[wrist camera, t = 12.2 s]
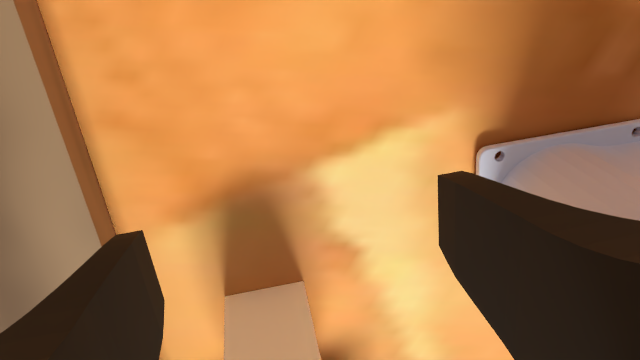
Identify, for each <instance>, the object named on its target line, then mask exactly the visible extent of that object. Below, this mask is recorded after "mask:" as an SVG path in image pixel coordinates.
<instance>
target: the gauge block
mask: <svg viewBox="0 0 640 360" xmlns="http://www.w3.org/2000/svg"><path fill="white" fill-rule="evenodd" d="M224 360H321V356H320V352H319V348H318V343H317V339H316V334H315V330H314V325H313V321H312V316H311V312H310V307H309V303H308V299H307V294H306V290H305V285H304V281H301V282H296V283H291V284H286V285H280V286H275V287H270V288H265V289H260V290H255V291H250V292H245V293H240V294H235V295H229V296H225V309H224Z"/></svg>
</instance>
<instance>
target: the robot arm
mask: <svg viewBox="0 0 640 360" xmlns="http://www.w3.org/2000/svg"><path fill="white" fill-rule="evenodd" d="M634 128H636V130H635V132H634V133H633V134H632V131H633V130H634ZM499 151H501V154H500V156H499V157H498V158H496V159H495V158H494V157H495V154H496V153H497V152H499ZM438 218H439V246H440V248H441V250H442V252H443V254H444V256H445V258H446V260H447V262H448V264H449V266H450V268H451V270H452V272H453V273H454V275H455V277H456V278H457V280H458V281H459V283H460V284H461V285H462V287H463V288H464V290H465V291H466V292H467V294H468V295H469V297H470V298H471V299H472V301H473V302H474V304H475V305H476V306H477V308H478V309H479V310H480V312H481V313H482V314H483V316H484V317H485V319H486V320H487V321H488V323H489V324H490V325H491V327H492V328H493V329H494V331H495V332H496V334H497V335H498V336H499V338H500V339H501V340H502V342H503V343H504V345H505V346H506V348H507V349H508V351H509V352H510V354H511V355H512V357H513V358H514V360H640V119H636V120H631V121H625V122H619V123H614V124H608V125H602V126H597V127H591V128H585V129H579V130H574V131H568V132H562V133H557V134H551V135H545V136H540V137H534V138H528V139H523V140H517V141H511V142H505V143H500V144H494V145H488V146H485V147H482V148H481V149H480V150H479V151H478V153H477V156H476V175H475V174H472V173H468V172H464V171H459V172H453V173H448V174H442V175H438ZM163 325H164V297H163V294H162V291H161V288H160V285H159V281H158V278H157V275H156V272H155V269H154V266H153V262H152V259H151V256H150V253H149V250H148V247H147V243H146V240H145V237H144V234H143V231H142V230H141V231H135V232H130V233H125V234H119V235H115V236H114V237H113V238H111V239H110V240H109V241H108V242H106V243H105V244H104V245H103V246H102V247H101V248H100V249H99V250H98V251H97V252H95V253H94V254H93V255H92V256H91V257H90V258H89V259H88V260H87V261H86V262H85V263H84V264H83V265H82V266H80V267H79V268H78V269H77V270H76V271H75V272H74V273H73V274H72V275H71V276H70V277H69V278H68V279H66V280H65V281H64V282H63V283H62V284H61V285H60V286H59V287H57V288H56V289H55V290H54V291H53V292H52V293H50V294H49V295H48V296H47V297H46V298H45V299H43V300H42V301H41V302H40V303H39V304H37V305H36V306H35V307H34V308H33V309H32V310H30V311H29V312H28V313H27V314H25V315H24V316H23V317H22V318H20V319H19V320H18V321H16V322H15V323H14V324H12V325H11V326H10V327H8V328H7V329H6V330H4V331H3V332H1V333H0V360H159V355H160V350H161V344H162V339H163Z"/></svg>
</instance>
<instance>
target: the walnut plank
mask: <svg viewBox="0 0 640 360" xmlns="http://www.w3.org/2000/svg"><path fill="white" fill-rule="evenodd" d="M115 235H116V233H115V230H114V227H113V224H112V222H111V219H110V216H109V213H108V210H107V207H106V204H105V201H104V198H103V195H102V192H101V189H100V186H99V183H98V180H97V178H96V175H95V172H94V169H93V166H92V163H91V160H90V157H89V154H88V151H87V148H86V145H85V142H84V139H83V136H82V133H81V131H80V128H79V125H78V122H77V119H76V116H75V113H74V110H73V107H72V104H71V101H70V98H69V95H68V92H67V89H66V87H65V84H64V81H63V78H62V75H61V72H60V69H59V66H58V63H57V60H56V57H55V54H54V51H53V48H52V45H51V43H50V40H49V37H48V34H47V31H46V28H45V25H44V22H43V19H42V16H41V13H40V10H39V7H38V4H37V1H36V0H0V333H1V332H3V331H4V330H6V329H7V328H8V327H10V326H11V325H12V324H14V323H15V322H16V321H18V320H19V319H20V318H22V317H23V316H24V315H25V314H27V313H28V312H29V311H30V310H32V309H33V308H34V307H35V306H36V305H37V304H39V303H40V302H41V301H42V300H43V299H45V298H46V297H47V296H48V295H49V294H50V293H52V292H53V291H54V290H55V289H56V288H57V287H59V286H60V285H61V284H62V283H63V282H64V281H65V280H66V279H68V278H69V277H70V276H71V275H72V274H73V273H74V272H75V271H76V270H77V269H78V268H79V267H80V266H82V265H83V264H84V263H85V262H86V261H87V260H88V259H89V258H90V257H91V256H92V255H93V254H94V253H95V252H97V251H98V250H99V249H100V248H101V247H102V246H103V245H104V244H105V243H106V242H108V241H109V240H110V239H111V238H113V237H114V236H115Z"/></svg>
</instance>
